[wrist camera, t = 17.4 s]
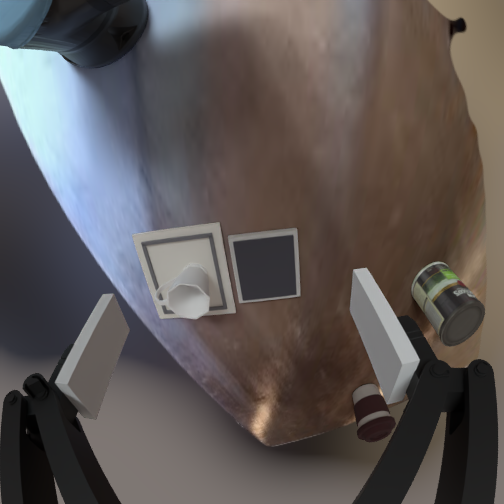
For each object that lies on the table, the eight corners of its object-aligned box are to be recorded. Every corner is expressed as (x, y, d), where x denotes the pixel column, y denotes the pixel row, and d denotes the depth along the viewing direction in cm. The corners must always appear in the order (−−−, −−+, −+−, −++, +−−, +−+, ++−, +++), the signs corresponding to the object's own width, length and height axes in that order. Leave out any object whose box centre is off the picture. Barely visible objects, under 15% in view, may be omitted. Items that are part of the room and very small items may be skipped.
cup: (220, 286, 53) (217, 315, 45) (169, 296, 54) (159, 326, 46) (208, 251, 49) (201, 278, 42) (154, 264, 50) (140, 291, 43)
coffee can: (425, 256, 51) (463, 298, 39) (457, 266, 53) (493, 305, 40) (402, 299, 56) (431, 345, 44) (434, 305, 58) (464, 347, 45)
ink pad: (228, 235, 49) (227, 238, 48) (296, 227, 48) (297, 230, 47) (239, 299, 55) (239, 304, 54) (299, 293, 54) (300, 297, 53)
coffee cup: (348, 384, 69) (362, 432, 56) (384, 376, 68) (401, 421, 55) (345, 404, 73) (357, 448, 60) (378, 396, 73) (393, 438, 60)
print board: (133, 233, 48) (131, 236, 47) (219, 221, 48) (219, 224, 47) (160, 316, 57) (159, 320, 56) (236, 310, 56) (235, 314, 55)
